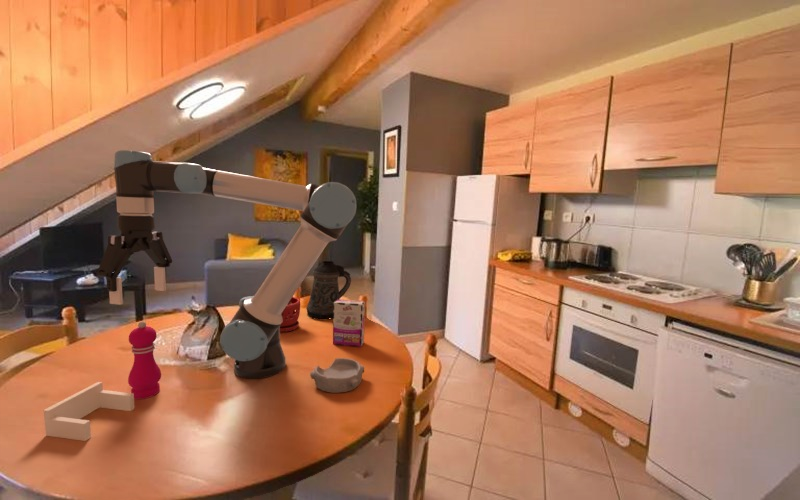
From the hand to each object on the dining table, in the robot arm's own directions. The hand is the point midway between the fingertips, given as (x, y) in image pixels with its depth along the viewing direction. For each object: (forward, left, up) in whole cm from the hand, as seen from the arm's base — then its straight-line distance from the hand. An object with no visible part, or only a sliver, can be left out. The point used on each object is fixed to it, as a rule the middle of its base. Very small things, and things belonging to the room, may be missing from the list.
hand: (140, 296), depth 93 cm
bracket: (+2, +13, -27) cm, 30 cm away
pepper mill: (0, 0, -27) cm, 27 cm away
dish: (-49, -16, -27) cm, 58 cm away
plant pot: (-14, -54, -27) cm, 62 cm away
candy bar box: (-44, -45, -27) cm, 69 cm away
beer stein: (-25, -77, -27) cm, 85 cm away
